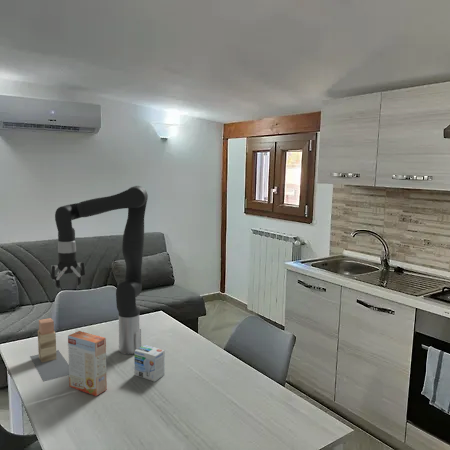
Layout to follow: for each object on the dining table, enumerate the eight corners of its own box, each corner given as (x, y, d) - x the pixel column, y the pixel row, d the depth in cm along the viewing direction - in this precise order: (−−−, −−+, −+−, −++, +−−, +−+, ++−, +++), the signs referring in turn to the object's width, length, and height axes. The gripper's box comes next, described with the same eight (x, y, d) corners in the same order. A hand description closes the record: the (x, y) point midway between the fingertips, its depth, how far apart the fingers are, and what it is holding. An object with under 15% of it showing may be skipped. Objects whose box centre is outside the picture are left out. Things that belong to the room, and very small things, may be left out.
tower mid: (56, 345, 185) (55, 332, 184) (41, 349, 182) (40, 335, 181) (52, 341, 190) (52, 328, 189) (38, 344, 187) (37, 330, 186)
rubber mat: (74, 374, 174) (74, 373, 174) (43, 382, 167) (43, 381, 167) (58, 350, 195) (58, 350, 195) (29, 357, 188) (29, 356, 188)
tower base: (56, 359, 186) (56, 345, 185) (41, 362, 183) (41, 349, 182) (53, 354, 191) (52, 341, 190) (38, 357, 188) (38, 344, 187)
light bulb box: (133, 375, 174) (133, 350, 173) (144, 368, 180) (144, 344, 179) (155, 382, 169) (155, 356, 168) (165, 374, 175) (165, 349, 174)
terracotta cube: (54, 332, 185) (53, 321, 184) (41, 334, 182) (41, 323, 181) (51, 328, 189) (50, 317, 188) (39, 331, 186) (38, 320, 185)
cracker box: (107, 389, 163) (106, 337, 160) (96, 397, 157) (94, 342, 155) (80, 380, 169) (79, 329, 166) (68, 387, 164) (67, 335, 161)
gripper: (80, 247, 196) (81, 282, 199) (48, 250, 188) (49, 286, 191) (85, 250, 190) (86, 286, 193) (52, 253, 182) (53, 291, 184)
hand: (68, 286), depth 192 cm, fingers open, 8 cm apart
